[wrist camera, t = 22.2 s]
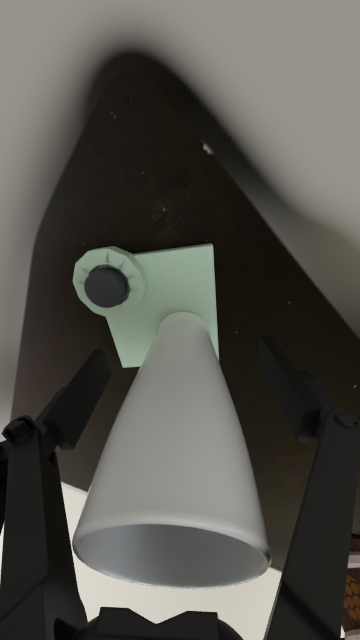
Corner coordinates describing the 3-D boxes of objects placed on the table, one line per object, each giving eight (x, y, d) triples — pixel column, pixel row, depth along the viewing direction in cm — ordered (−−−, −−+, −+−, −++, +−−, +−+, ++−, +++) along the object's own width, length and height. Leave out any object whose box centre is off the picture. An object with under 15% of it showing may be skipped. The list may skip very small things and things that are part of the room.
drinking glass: (227, 314, 19) (324, 548, 5) (202, 366, 22) (223, 599, 8) (160, 292, 18) (74, 498, 5) (143, 349, 21) (62, 573, 8)
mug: (351, 527, 41) (430, 674, 28) (389, 546, 45) (475, 685, 31) (277, 549, 49) (310, 673, 35) (314, 565, 52) (357, 682, 39)
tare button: (87, 269, 16) (77, 274, 15) (122, 265, 16) (115, 269, 14) (99, 303, 17) (91, 309, 16) (131, 299, 17) (126, 306, 16)
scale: (80, 249, 18) (61, 254, 15) (210, 231, 17) (214, 233, 14) (118, 360, 24) (109, 378, 21) (217, 352, 22) (221, 370, 20)
